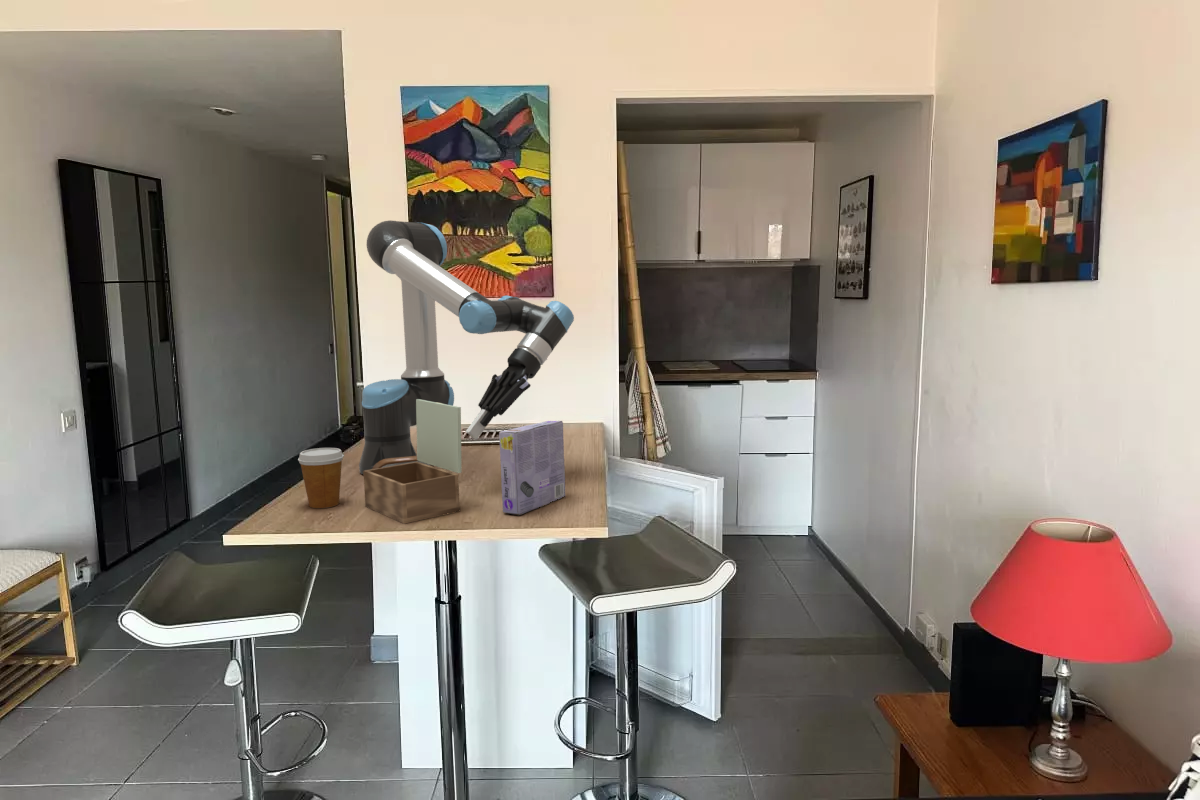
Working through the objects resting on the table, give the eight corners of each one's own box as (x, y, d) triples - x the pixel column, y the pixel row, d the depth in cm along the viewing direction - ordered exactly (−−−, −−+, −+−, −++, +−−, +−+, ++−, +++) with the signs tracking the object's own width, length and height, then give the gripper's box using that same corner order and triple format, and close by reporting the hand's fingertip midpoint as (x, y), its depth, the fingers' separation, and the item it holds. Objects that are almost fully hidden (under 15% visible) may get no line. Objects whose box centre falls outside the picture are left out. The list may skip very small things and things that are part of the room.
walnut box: (365, 506, 173) (363, 470, 172) (418, 495, 182) (417, 461, 181) (403, 523, 160) (401, 485, 159) (459, 511, 168) (458, 474, 167)
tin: (434, 487, 190) (432, 452, 189) (438, 490, 187) (436, 455, 186) (370, 495, 183) (368, 460, 182) (373, 498, 180) (371, 462, 179)
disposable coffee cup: (311, 499, 180) (307, 447, 179) (352, 498, 180) (349, 447, 178) (294, 510, 171) (290, 456, 169) (337, 510, 171) (334, 455, 169)
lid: (416, 399, 179) (420, 399, 180) (417, 460, 181) (421, 459, 181) (457, 407, 166) (461, 407, 166) (458, 473, 167) (462, 472, 168)
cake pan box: (551, 493, 182) (549, 417, 180) (569, 495, 180) (568, 419, 177) (499, 514, 166) (496, 431, 163) (519, 517, 163) (516, 433, 161)
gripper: (554, 368, 185) (497, 449, 176) (522, 365, 194) (466, 441, 186) (535, 347, 180) (476, 428, 172) (503, 345, 190) (445, 422, 182)
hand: (471, 435), depth 179 cm, fingers closed
